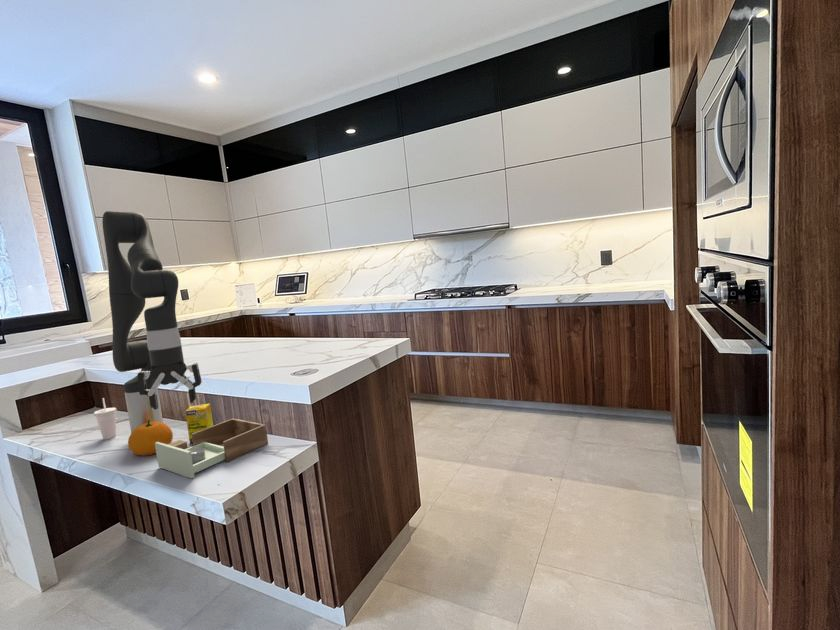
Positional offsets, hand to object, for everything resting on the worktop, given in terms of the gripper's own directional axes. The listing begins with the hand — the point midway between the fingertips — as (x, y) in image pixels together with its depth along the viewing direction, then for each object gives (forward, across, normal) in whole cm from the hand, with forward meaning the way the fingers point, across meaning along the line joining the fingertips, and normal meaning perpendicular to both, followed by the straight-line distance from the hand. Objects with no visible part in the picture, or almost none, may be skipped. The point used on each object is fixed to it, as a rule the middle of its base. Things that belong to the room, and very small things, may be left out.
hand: (174, 405), depth 113 cm
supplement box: (+18, -2, -24) cm, 30 cm away
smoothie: (+18, +30, -46) cm, 58 cm away
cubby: (+18, -10, -9) cm, 23 cm away
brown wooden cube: (+18, +4, -12) cm, 22 cm away
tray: (+18, -3, -4) cm, 19 cm away
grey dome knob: (+17, -2, -2) cm, 17 cm away
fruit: (+18, +12, -22) cm, 31 cm away
